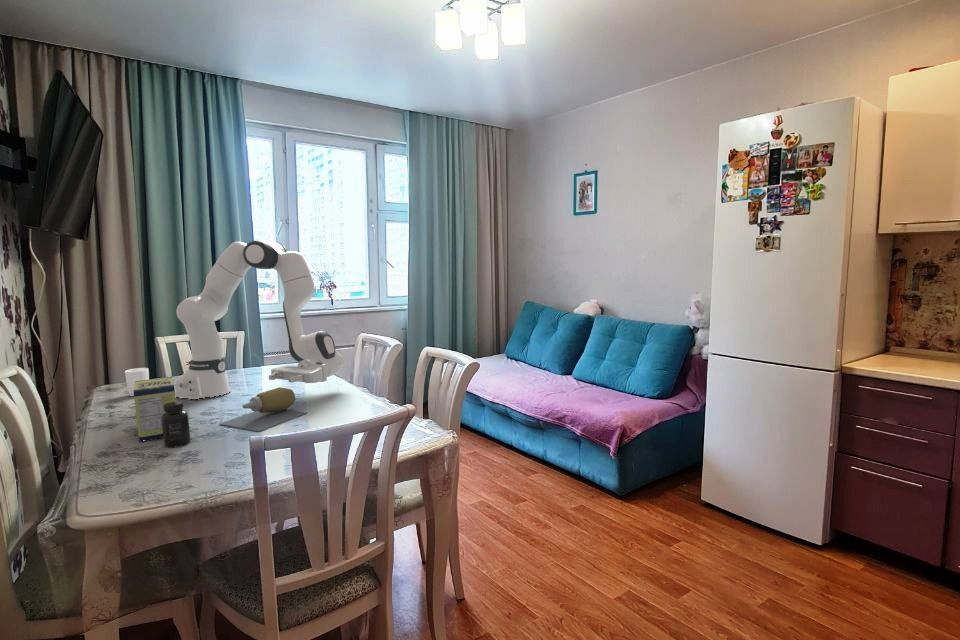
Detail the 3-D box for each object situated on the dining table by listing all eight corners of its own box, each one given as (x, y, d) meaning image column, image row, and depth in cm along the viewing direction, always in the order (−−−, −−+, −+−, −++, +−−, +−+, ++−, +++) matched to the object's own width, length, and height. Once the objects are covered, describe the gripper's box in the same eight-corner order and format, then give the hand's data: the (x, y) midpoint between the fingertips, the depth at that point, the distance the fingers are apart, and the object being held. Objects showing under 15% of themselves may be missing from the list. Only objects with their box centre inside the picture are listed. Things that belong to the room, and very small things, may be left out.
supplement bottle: (196, 439, 155) (192, 400, 153) (180, 448, 148) (176, 407, 147) (174, 439, 156) (170, 400, 154) (158, 447, 149) (153, 406, 147)
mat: (269, 407, 186) (268, 406, 186) (307, 413, 178) (307, 412, 178) (219, 424, 168) (218, 423, 168) (258, 432, 160) (258, 430, 160)
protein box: (177, 422, 172) (173, 375, 170) (179, 435, 159) (174, 385, 157) (139, 428, 167) (134, 380, 165) (138, 443, 153) (132, 391, 151)
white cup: (154, 393, 210) (152, 368, 208) (133, 398, 203) (130, 373, 202) (144, 391, 214) (142, 367, 212) (123, 395, 207) (120, 370, 206)
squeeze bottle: (284, 409, 185) (238, 420, 170) (280, 387, 185) (234, 395, 170) (299, 407, 181) (253, 418, 165) (295, 384, 181) (249, 392, 166)
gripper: (287, 360, 200) (258, 367, 188) (329, 364, 191) (300, 372, 179) (288, 376, 201) (259, 385, 189) (330, 381, 192) (301, 390, 180)
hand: (279, 379), depth 184 cm, fingers open, 8 cm apart
